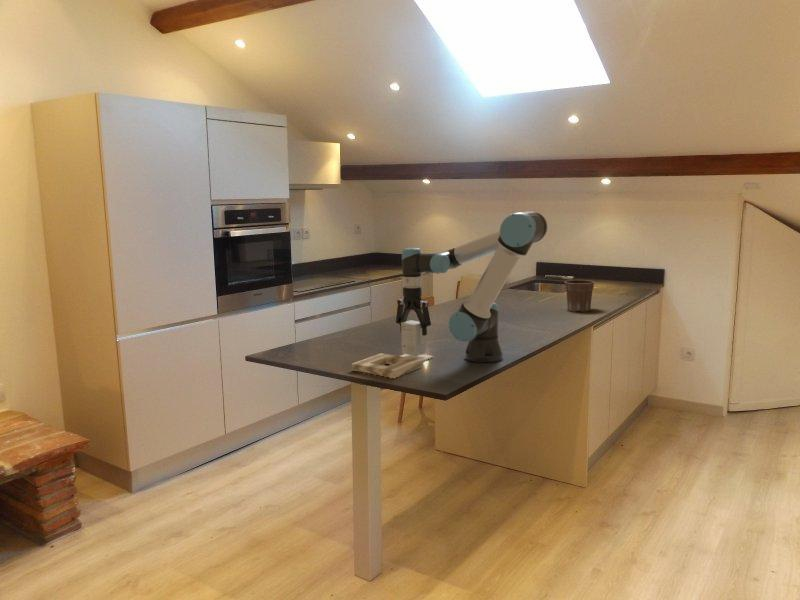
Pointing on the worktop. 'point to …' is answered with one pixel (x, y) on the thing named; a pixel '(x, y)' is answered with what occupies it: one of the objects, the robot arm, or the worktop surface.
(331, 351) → the worktop surface
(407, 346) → the small box
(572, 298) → the plant pot
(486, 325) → the robot arm
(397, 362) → the pocket block
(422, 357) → the ceramic tile
